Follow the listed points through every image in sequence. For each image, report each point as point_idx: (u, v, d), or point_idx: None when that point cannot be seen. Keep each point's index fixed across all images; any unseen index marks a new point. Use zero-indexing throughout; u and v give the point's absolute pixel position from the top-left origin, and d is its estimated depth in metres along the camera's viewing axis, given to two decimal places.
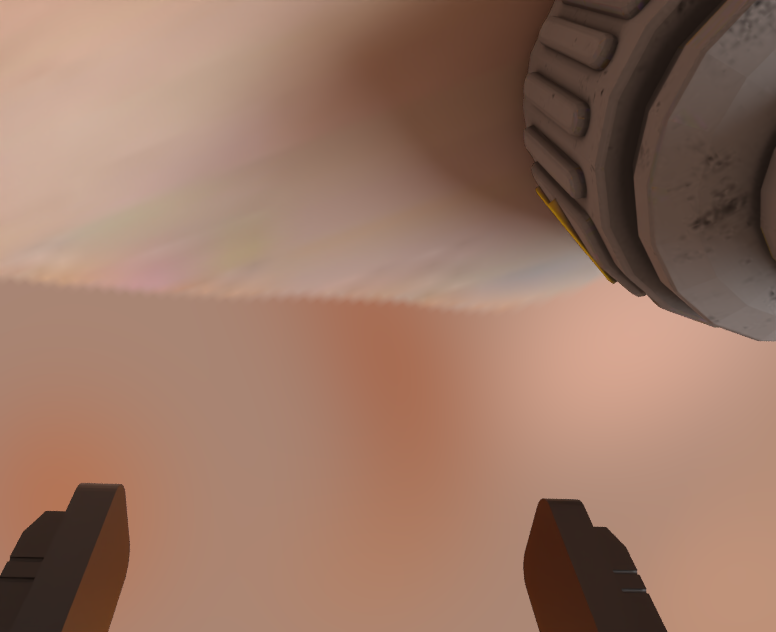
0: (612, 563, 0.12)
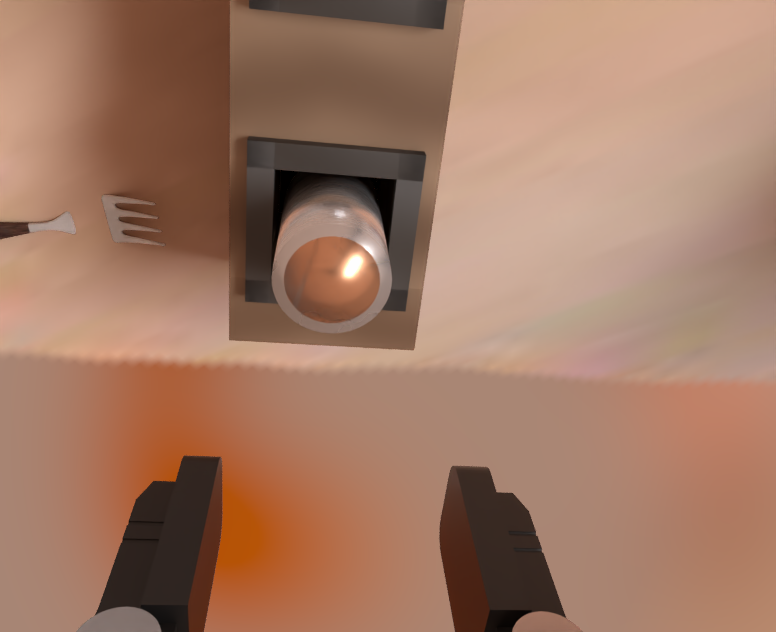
0: (513, 525, 0.13)
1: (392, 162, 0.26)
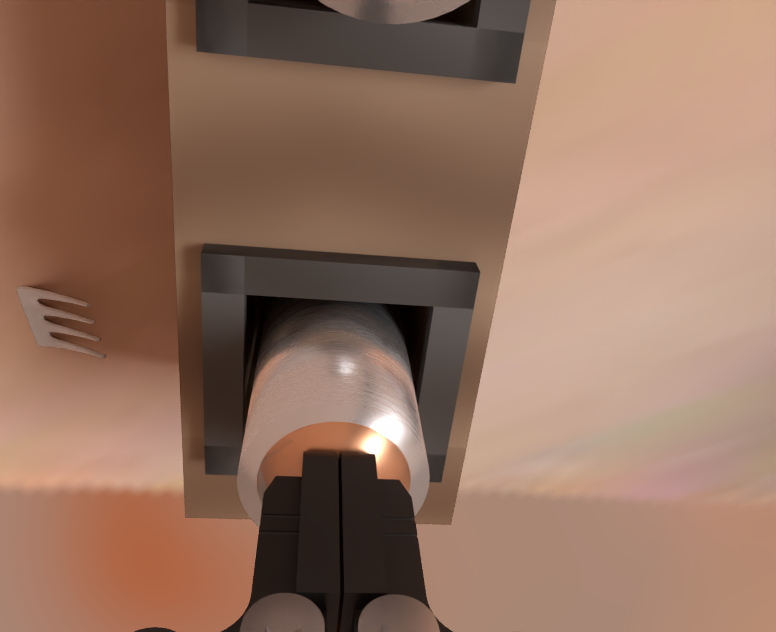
0: (392, 511, 0.13)
1: (427, 282, 0.17)
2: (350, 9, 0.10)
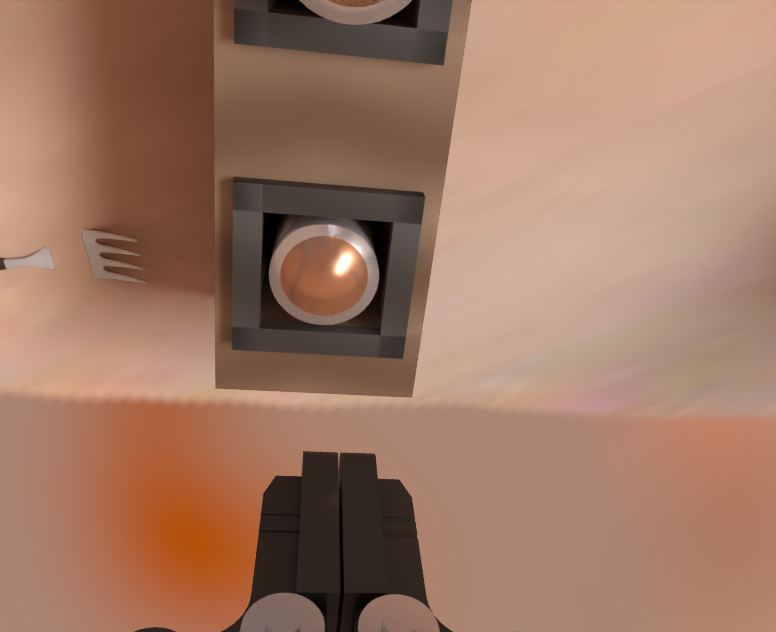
0: (392, 511, 0.13)
1: (389, 204, 0.24)
2: (331, 16, 0.17)
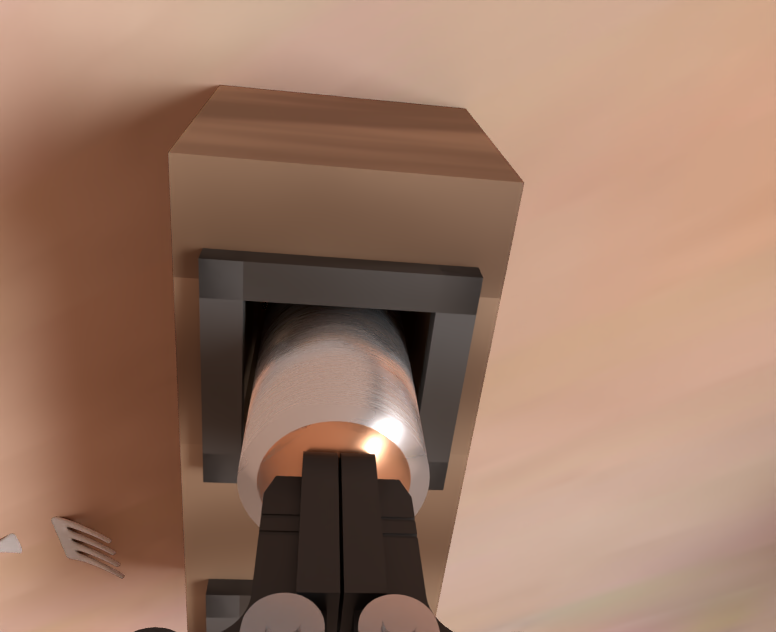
0: (392, 511, 0.13)
1: None
2: None
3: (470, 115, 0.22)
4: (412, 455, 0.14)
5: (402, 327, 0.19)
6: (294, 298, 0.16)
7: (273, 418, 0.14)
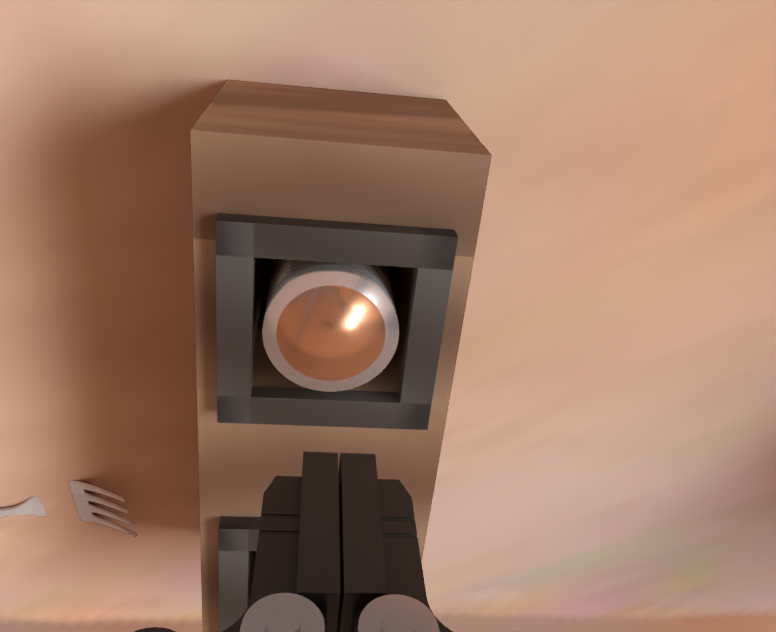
0: (392, 511, 0.13)
1: None
2: (313, 387, 0.21)
3: (449, 105, 0.25)
4: (386, 312, 0.20)
5: None
6: (297, 255, 0.19)
7: (288, 284, 0.20)
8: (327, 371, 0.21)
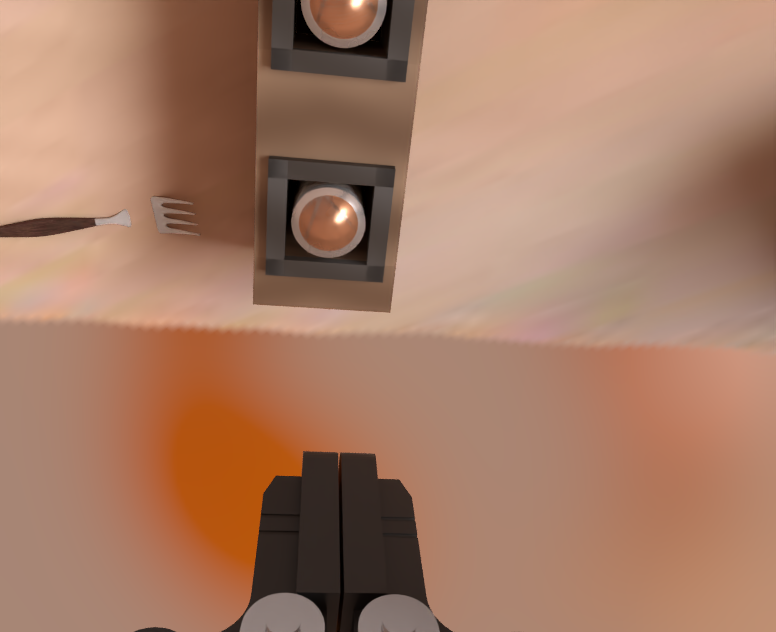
0: (392, 511, 0.13)
1: (371, 174, 0.37)
2: (332, 43, 0.33)
3: None
4: None
5: None
6: None
7: None
8: (341, 31, 0.33)
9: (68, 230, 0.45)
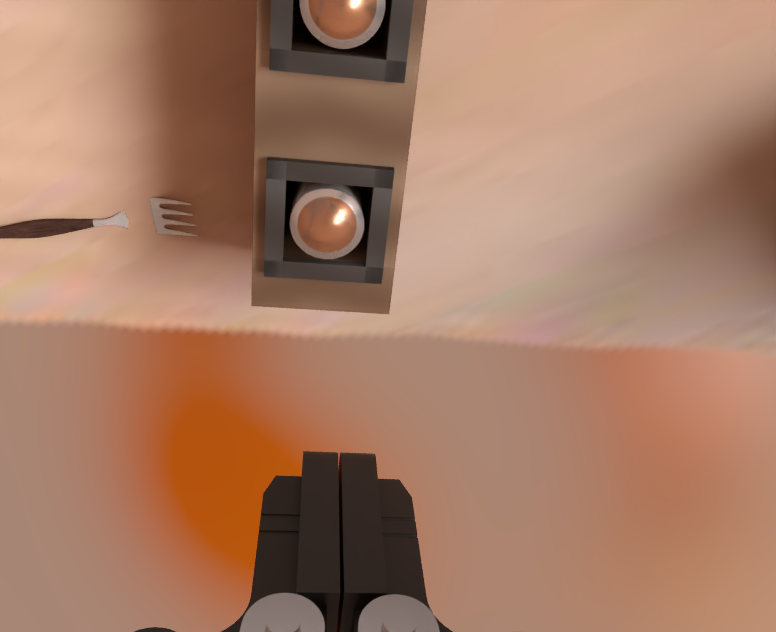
0: (392, 511, 0.13)
1: (370, 175, 0.36)
2: (330, 44, 0.33)
3: None
4: None
5: None
6: None
7: None
8: (339, 31, 0.33)
9: (65, 231, 0.45)
